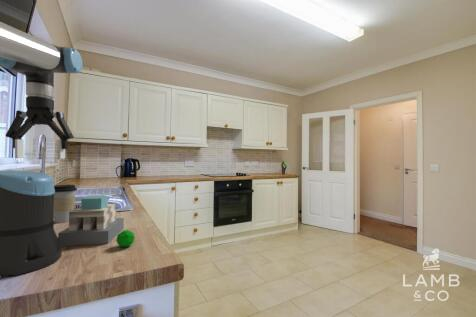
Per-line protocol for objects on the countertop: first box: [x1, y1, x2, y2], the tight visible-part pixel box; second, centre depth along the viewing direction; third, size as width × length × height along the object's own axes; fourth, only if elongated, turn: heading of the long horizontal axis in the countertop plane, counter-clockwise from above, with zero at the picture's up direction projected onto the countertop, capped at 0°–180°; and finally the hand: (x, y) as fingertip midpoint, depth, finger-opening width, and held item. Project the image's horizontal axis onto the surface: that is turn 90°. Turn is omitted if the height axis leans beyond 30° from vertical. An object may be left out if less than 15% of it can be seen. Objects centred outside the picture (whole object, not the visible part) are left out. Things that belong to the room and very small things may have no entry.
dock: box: [57, 217, 125, 247], centre depth 80 cm, size 16×14×4 cm
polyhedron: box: [116, 229, 135, 248], centre depth 71 cm, size 5×5×5 cm
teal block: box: [80, 195, 109, 210], centre depth 80 cm, size 6×6×4 cm
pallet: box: [68, 203, 117, 231], centre depth 80 cm, size 12×10×6 cm
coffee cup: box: [54, 184, 78, 224], centre depth 98 cm, size 9×9×15 cm
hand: (40, 158), depth 82 cm, fingers open, 13 cm apart
